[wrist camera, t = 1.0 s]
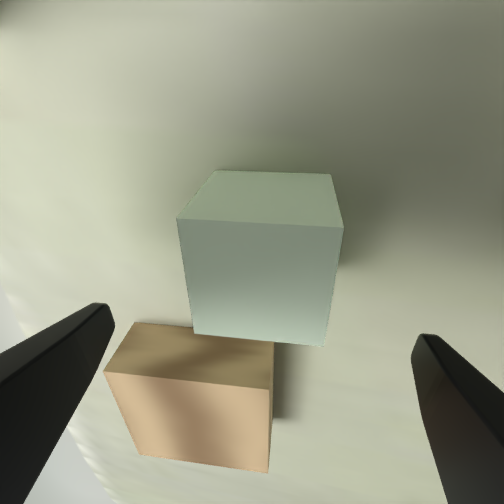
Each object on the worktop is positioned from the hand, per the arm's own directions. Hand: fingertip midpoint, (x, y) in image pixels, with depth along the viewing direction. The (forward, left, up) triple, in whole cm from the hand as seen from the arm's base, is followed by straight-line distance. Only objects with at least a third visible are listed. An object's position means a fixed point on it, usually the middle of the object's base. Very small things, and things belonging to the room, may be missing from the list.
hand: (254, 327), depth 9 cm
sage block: (0, 0, -7) cm, 7 cm away
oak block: (+4, +12, -7) cm, 15 cm away
